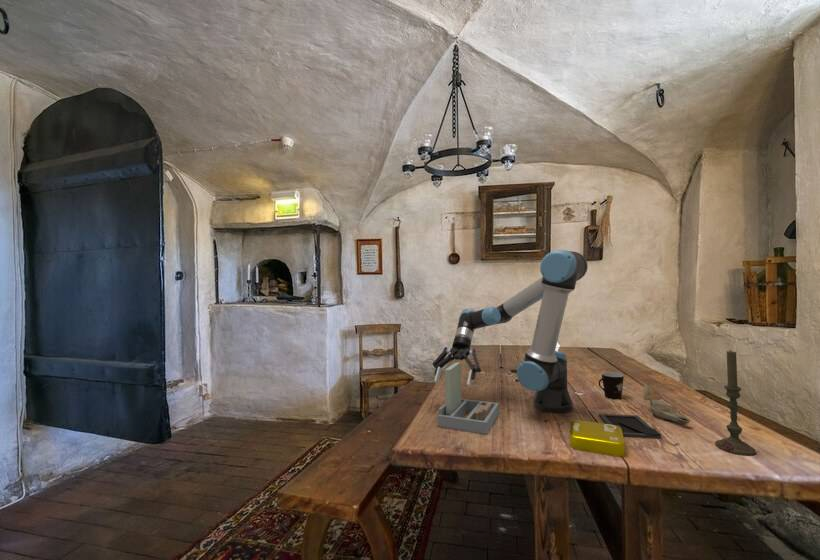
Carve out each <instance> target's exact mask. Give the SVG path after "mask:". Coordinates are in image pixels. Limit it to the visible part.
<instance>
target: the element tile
mask: <svg viewBox="0 0 820 560" xmlns="http://www.w3.org/2000/svg"><path fill="white" fill-rule="evenodd" d="M569 446H570V448H571V449H573V450H577V451H583V452H589V453H594V454H601V455H607V456H612V457H619V458H621V457H625V456H626V441H625V437H623V433H622V429H621V427H619V426H617V425H611V424H605V423H604V422H603V423H602V422H595V421H587V420H579V419H573V420H571V421H570V427H569Z"/></svg>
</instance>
